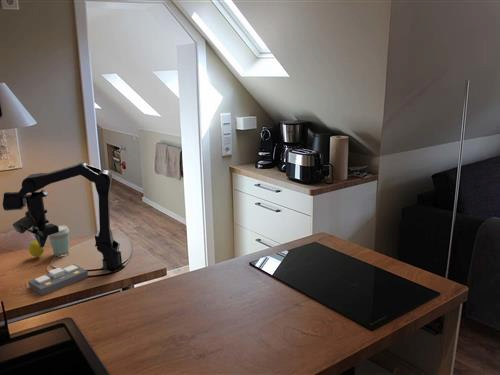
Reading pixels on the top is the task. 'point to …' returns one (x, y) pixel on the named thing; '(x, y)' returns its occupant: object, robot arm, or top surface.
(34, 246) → the lemon
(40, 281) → the button
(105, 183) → the robot arm
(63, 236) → the coffee cup
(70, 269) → the button
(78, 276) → the button board
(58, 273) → the middle button
